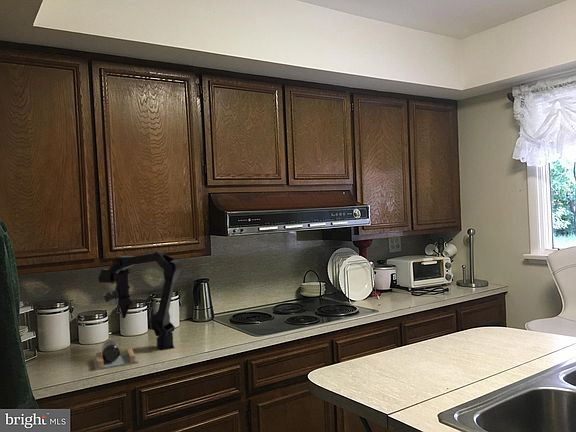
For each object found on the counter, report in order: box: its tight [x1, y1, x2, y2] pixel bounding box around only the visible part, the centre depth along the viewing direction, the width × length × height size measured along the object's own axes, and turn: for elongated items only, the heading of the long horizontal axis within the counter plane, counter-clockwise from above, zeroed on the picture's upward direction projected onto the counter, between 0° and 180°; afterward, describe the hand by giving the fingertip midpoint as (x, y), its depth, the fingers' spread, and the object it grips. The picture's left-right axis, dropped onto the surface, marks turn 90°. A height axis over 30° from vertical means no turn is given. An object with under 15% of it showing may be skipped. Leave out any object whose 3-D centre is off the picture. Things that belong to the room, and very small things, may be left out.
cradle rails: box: [95, 347, 136, 368], centre depth 192 cm, size 14×13×2 cm
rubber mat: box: [93, 353, 139, 371], centre depth 192 cm, size 16×13×1 cm
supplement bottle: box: [101, 339, 121, 362], centre depth 193 cm, size 7×7×12 cm
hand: (123, 317), depth 215 cm, fingers closed
